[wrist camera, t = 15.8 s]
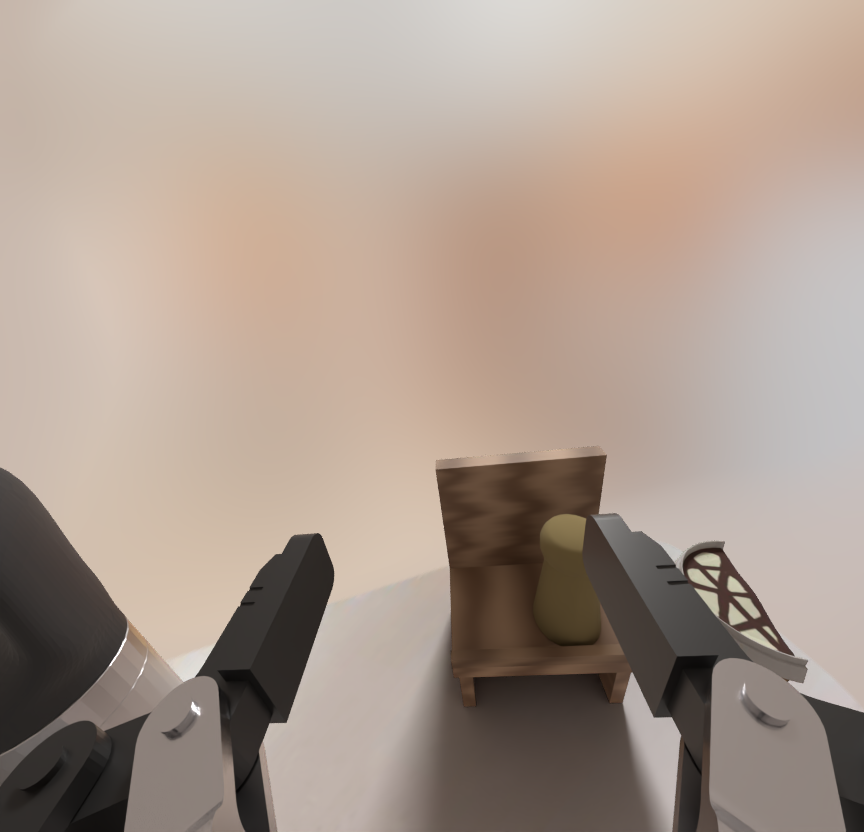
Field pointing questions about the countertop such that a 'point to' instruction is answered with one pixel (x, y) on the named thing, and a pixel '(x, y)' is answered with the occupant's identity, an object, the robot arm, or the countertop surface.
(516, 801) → the countertop surface
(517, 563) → the wooden chair
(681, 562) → the food container
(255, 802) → the robot arm
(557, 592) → the cork
